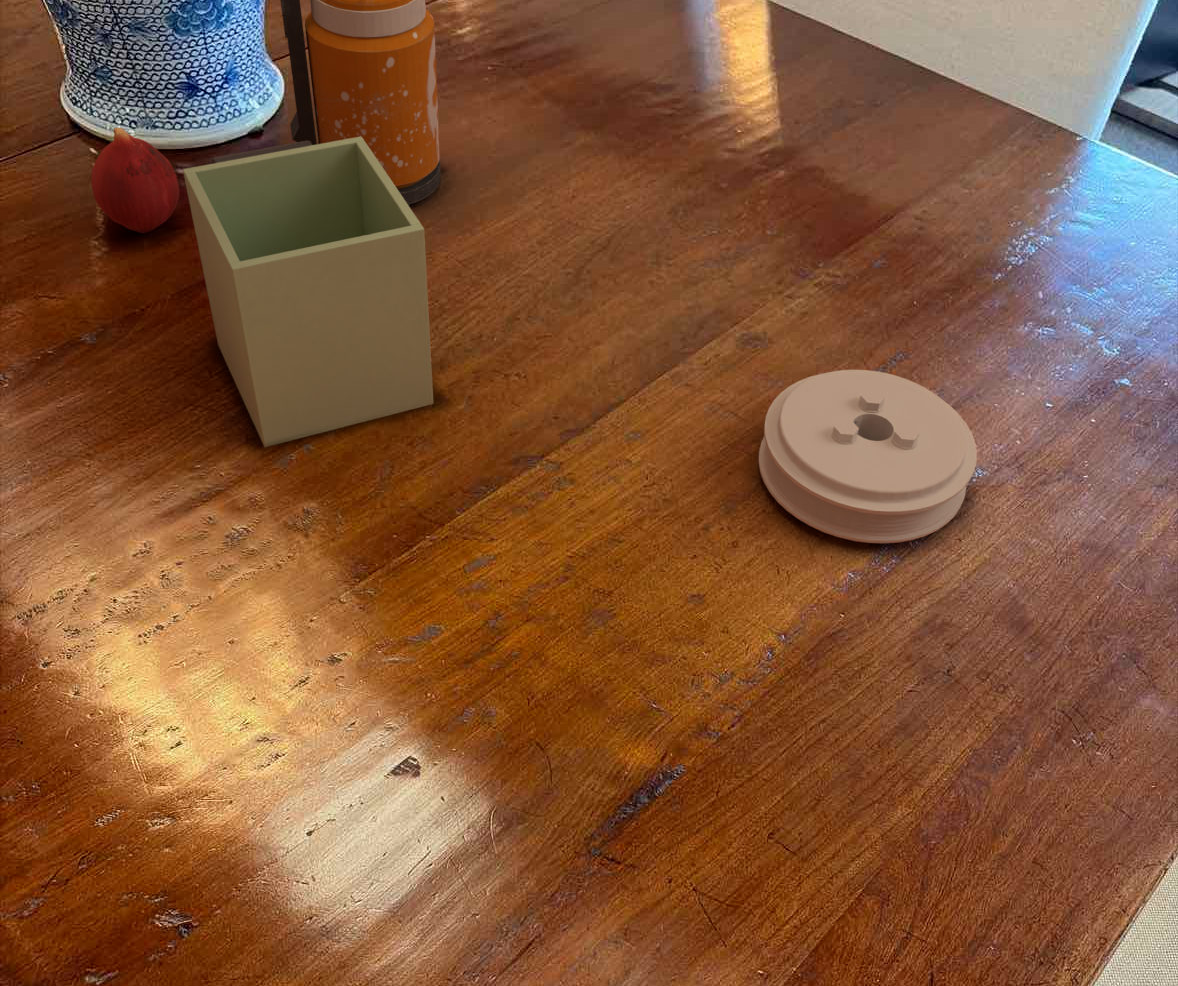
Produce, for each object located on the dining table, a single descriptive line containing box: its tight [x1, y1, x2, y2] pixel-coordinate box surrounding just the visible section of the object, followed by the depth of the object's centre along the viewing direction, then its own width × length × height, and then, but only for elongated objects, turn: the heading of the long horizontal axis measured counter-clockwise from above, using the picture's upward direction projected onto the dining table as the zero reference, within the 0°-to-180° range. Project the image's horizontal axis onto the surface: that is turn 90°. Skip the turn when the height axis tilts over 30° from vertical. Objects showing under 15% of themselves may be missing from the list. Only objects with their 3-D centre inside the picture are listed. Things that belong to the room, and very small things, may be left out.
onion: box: [91, 127, 180, 234], centre depth 92 cm, size 6×6×8 cm
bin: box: [182, 137, 434, 448], centre depth 81 cm, size 13×11×15 cm
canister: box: [280, 0, 442, 206], centre depth 93 cm, size 9×11×20 cm
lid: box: [758, 369, 978, 544], centre depth 79 cm, size 13×13×5 cm
